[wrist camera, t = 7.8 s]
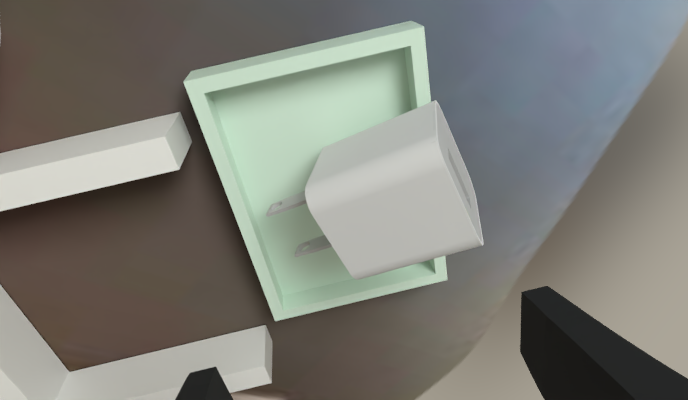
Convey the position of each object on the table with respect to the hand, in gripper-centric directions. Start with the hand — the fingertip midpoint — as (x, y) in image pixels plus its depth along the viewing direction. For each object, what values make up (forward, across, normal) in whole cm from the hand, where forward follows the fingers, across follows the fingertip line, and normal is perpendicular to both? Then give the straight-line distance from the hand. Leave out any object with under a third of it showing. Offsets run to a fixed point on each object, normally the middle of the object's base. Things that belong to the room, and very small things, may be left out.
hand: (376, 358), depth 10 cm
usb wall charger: (+8, -2, 0) cm, 8 cm away
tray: (+9, 0, 0) cm, 9 cm away
